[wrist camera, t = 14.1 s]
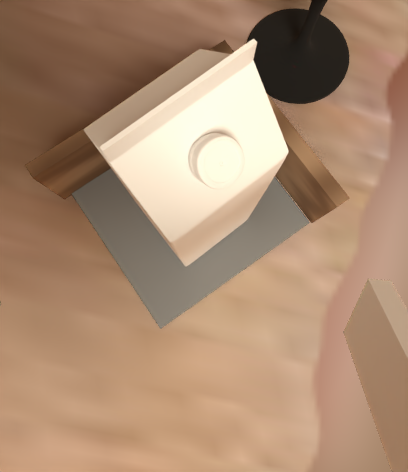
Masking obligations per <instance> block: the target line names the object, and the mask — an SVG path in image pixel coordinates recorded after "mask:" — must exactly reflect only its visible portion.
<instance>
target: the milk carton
mask: <svg viewBox="0 0 408 472" xmlns="http://www.w3.org/2000/svg"><path fill="white" fill-rule="evenodd" d="M256 45H257V41H256V40H255V39H252V40H251V41H249V42H248V43H247V44H245V45H244V46H242V47H241V48H239V49H238V50H237V51H235V52H234V53H232V54H227V53H221V52H215V51H210V50H204V49H199V50H197V51H196V52H194V53H193V54H191V55H190V56H188V57H187V58H185V59H184V60H182V61H181V62H179V63H178V64H177V65H175V66H174V67H172V68H171V69H169V70H168V71H166V72H165V73H164V74H162V75H161V76H159V77H158V78H156V79H155V80H153V81H152V82H151V83H149V84H148V85H146V86H145V87H143V88H142V89H140V90H139V91H138V92H136V93H135V94H133V95H132V96H130V97H129V98H127V99H126V100H125V101H123V102H122V103H120V104H119V105H117V106H116V107H114V108H113V109H112V110H110V111H109V112H107V113H106V114H104V115H103V116H101V117H100V118H99V119H97V120H96V121H94V122H93V123H91V124H90V125H89V126H87V127H86V128H85V129H84V131H85V133H86V134H87V136H88V137H89V138H90V140H91V141H92V142H93V144H94V145H95V147H96V148H97V149H98V151H99V152H100V153H101V155H102V156H103V158H104V159H105V160H106V162H107V163H108V164H109V166H110V167H111V169H112V170H113V171H114V173H115V174H116V175H117V177H118V178H119V180H120V181H121V182H122V184H123V185H124V186H125V188H126V189H127V191H128V192H129V193H130V195H131V196H132V197H133V199H134V200H135V202H136V203H137V204H138V206H139V207H140V208H141V210H142V211H143V212H144V214H145V215H146V216H147V217H148V219H149V220H150V221H151V223H152V224H153V225H154V227H155V228H156V229H157V230H158V232H159V233H160V234H161V236H162V237H163V238H164V240H165V241H166V242H167V243H168V245H169V246H170V247H171V249H172V250H173V251H174V253H175V254H176V255H177V256H178V258H179V259H180V260H181V262H182V263H183V264H184V266H186V267H187V266H188V265H190V264H191V263H192V262H194V261H195V260H196V259H198V258H199V257H200V256H202V255H203V254H204V253H205V252H207V251H208V250H209V249H211V248H212V247H213V246H214V245H216V244H217V243H218V242H220V241H221V240H222V239H224V238H225V237H226V236H227V235H229V234H230V233H231V232H233V231H234V230H235V229H236V228H238V227H239V226H240V225H242V224H243V223H244V222H245V221H246V220H247V219H248V218H249V216H250V215H251V213H252V212H253V210H254V208H255V207H256V205H257V204H258V202H259V200H260V199H261V197H262V196H263V194H264V192H265V191H266V189H267V188H268V186H269V184H270V183H271V181H272V180H273V178H274V176H275V175H276V173H277V172H278V170H279V168H280V167H281V165H282V164H283V162H284V160H285V159H286V156H287V154H288V152H289V151H288V148H287V145H286V143H285V140H284V137H283V135H282V132H281V130H280V127H279V125H278V122H277V119H276V117H275V114H274V112H273V109H272V107H271V104H270V101H269V99H268V96H267V94H266V91H265V89H264V86H263V84H262V81H261V78H260V76H259V73H258V71H257V68H256V66H255V63H254V60H253V59H254V54H255V50H256Z"/></svg>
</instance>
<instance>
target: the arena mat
mask: <svg viewBox="0 0 408 472" xmlns="http://www.w3.org/2000/svg"><path fill="white" fill-rule="evenodd" d="M72 195H73V197H74V198H75V200H76V201H77V203H78V204H79V206H80V208H81V209H82V211H83V212H84V214H85V215H86V217H87V218H88V220H89V221H90V223H91V224H92V226H93V227H94V229H95V230H96V232H97V233H98V235H99V236H100V238H101V239H102V241H103V242H104V244H105V245H106V247H107V248H108V250H109V251H110V253H111V254H112V256H113V257H114V259H115V261H116V262H117V264H118V265H119V267H120V268H121V270H122V271H123V273H124V274H125V276H126V277H127V279H128V280H129V282H130V283H131V285H132V286H133V288H134V289H135V291H136V292H137V294H138V295H139V297H140V298H141V300H142V301H143V303H144V304H145V306H146V307H147V309H148V311H149V312H150V314H151V315H152V317H153V318H154V320H155V321H156V323H157V324H158V326H159V327H160V329H161V328H162V327H164V326H165V325H167V324H168V323H169V322H171V321H172V320H174V319H175V318H176V317H178V316H179V315H181V314H182V313H183V312H185V311H186V310H188V309H189V308H190V307H192V306H193V305H195V304H196V303H197V302H199V301H200V300H202V299H203V298H205V297H206V296H207V295H209V294H210V293H212V292H213V291H214V290H216V289H217V288H219V287H220V286H221V285H223V284H224V283H226V282H227V281H228V280H230V279H231V278H233V277H234V276H235V275H237V274H238V273H240V272H241V271H242V270H244V269H245V268H247V267H248V266H249V265H251V264H252V263H254V262H255V261H256V260H258V259H259V258H261V257H262V256H264V255H265V254H266V253H268V252H269V251H271V250H272V249H273V248H275V247H276V246H278V245H279V244H280V243H282V242H283V241H285V240H286V239H287V238H289V237H290V236H292V235H293V234H294V233H296V232H297V231H299V230H300V229H301V228H303V227H304V226H306V225H307V224H308V223H309V221H308V220H307V219H306V217H305V216H304V215H303V213H302V212H301V211H300V209H299V208H298V207H297V206H296V204H295V203H294V202H293V200H292V199H291V198H290V196H289V195H288V194H287V192H286V191H285V190H284V189H283V187H282V186H281V185H280V183H279V182H278V181H277V179H276V178H275V177H274V178H273V180H272V181H271V183H270V184H269V186H268V188H267V189H266V191H265V192H264V194H263V196H262V197H261V199H260V200H259V202H258V204H257V205H256V207H255V208H254V210H253V212H252V213H251V215H250V216H249V218H248V219H247V220H246V221H245V222H244V223H243V224H242V225H240V226H239V227H238V228H236V229H235V230H234V231H233V232H231V233H230V234H229V235H227V236H226V237H225V238H224V239H222V240H221V241H220V242H218V243H217V244H216V245H214V246H213V247H212V248H211V249H209V250H208V251H207V252H205V253H204V254H203V255H202V256H200V257H199V258H198V259H196V260H195V261H194V262H192V263H191V264H190V265H188V266H187V267H186V266H184V264H183V263H182V262H181V260H180V259H179V258H178V256H177V255H176V254H175V253H174V251H173V250H172V249H171V247H170V246H169V245H168V243H167V242H166V241H165V240H164V238H163V237H162V236H161V234H160V233H159V232H158V230H157V229H156V228H155V227H154V225H153V224H152V223H151V221H150V220H149V219H148V217H147V216H146V215H145V214H144V212H143V211H142V210H141V208H140V207H139V206H138V204H137V203H136V202H135V200H134V199H133V197H132V196H131V195H130V193H129V192H128V191H127V189H126V188H125V186H124V185H123V184H122V182H121V181H120V180H119V178H118V177H117V175H116V174H115V173H114V171H113V170H112V169H111V168H110V169H109V170H107V171H106V172H104V173H103V174H101V175H100V176H98V177H96V178H95V179H93V180H92V181H90V182H89V183H87V184H86V185H84V186H82V187H81V188H79V189H78V190H76V191H75V192H73V193H72Z"/></svg>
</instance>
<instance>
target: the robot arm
mask: <svg viewBox="0 0 408 472" xmlns="http://www.w3.org/2000/svg"><path fill="white" fill-rule="evenodd" d="M0 305H1V302H0ZM344 335H345V338H346V341H347V344H348V347H349V350H350V353H351V355H352V358H353V361H354V364H355V367H356V370H357V373H358V376H359V379H360V381H361V385H362V387H363V390H364V393H365V396H366V399H367V402H368V405H369V408H370V411H371V413H372V416H373V419H374V422H375V425H376V428H377V431H378V434H379V437H380V439H381V443H382V445H383V448H384V451H385V454H386V457H387V460H388V463H389V466H390V469H391V471H392V472H408V310H407V308H406V306H405V304H404V303H403V301H402V299H401V297H400V296H399V294H398V292H397V291H396V289H395V287H394V285H393V283H392V282H391V281H390V280H378V279H368V280H367V282H366V284H365V286H364V288H363V291H362V293H361V295H360V297H359V299H358V301H357V304H356V306H355V308H354V310H353V312H352V315H351V317H350V319H349V321H348V323H347V325H346V328H345V330H344Z"/></svg>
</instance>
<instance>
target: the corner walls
mask: <svg viewBox="0 0 408 472" xmlns="http://www.w3.org/2000/svg"><path fill="white" fill-rule="evenodd" d="M210 51H215V52H221V53H227V54H232V53H234V51H233V50H232V49H231V47H230V46H229V45H228V44H227V42H226V41H225V40H224V41H223V42H221V43H219V44H218V45H216V46H215V47H213V48H211V49H210ZM266 94H267V93H266ZM267 96H268V99H269V101H270V104H271V107H272V109H273V112H274V114H275V117H276V119H277V122H278V125H279V127H280V130H281V132H282V135H283V137H284V140H285V143H286V145H287V148H288V151H289V152H288V154H287V156H286V159H285V160H284V162H283V164H282V165H281V167H280V168H279V170H278V172H277V173H276V175H275V176H276V177H277V178H278V180H279V181H280V182H281V184H282V185H283V186H284V187H285V189H286V190H287V191H288V193H289V194H290V195H291V197H292V198H293V199H294V201H295V202H296V203H297V205H298V206H299V207H300V208H301V210H302V211H303V212H304V214H305V215H306V216H307V218H308V219H309V220H310V222H311V223H313V222H314V221H316V220H317V219H319V218H321V217H322V216H324V215H325V214H327V213H329V212H330V211H332V210H333V209H335V208H336V207H338V206H339V205H341V204H342V203H344V202H345V201H346V200H348V199H349V196H348V195H347V194H346V193H345V191H344V190H343V189H342V188H341V186H340V185H339V184H338V183H337V181H336V180H335V179H334V178H333V176H332V175H331V174H330V172H329V171H328V170H327V169H326V167H325V166H324V165H323V164H322V162H321V161H320V160H319V159H318V157H317V156H316V155H315V154H314V152H313V151H312V150H311V148H310V147H309V146H308V145H307V143H306V142H305V141H304V140H303V138H302V137H301V136H300V135H299V133H298V132H297V131H296V130H295V128H294V127H293V126H292V124H291V123H290V122H289V121H288V119H287V118H286V117H285V116H284V114H283V113H282V112H281V111H280V109H279V108H278V107H277V106H276V104H275V103H274V102H273V100H272V99H271V98H270V97H269V95H268V94H267ZM88 126H89V125H88ZM85 128H86V127H85ZM85 128H84V129H85ZM84 129H82V130H80V131H79V132H77V133H76V134H74V135H72V136H71V137H69V138H68V139H66V140H64V141H63V142H61V143H60V144H58V145H56V146H55V147H53V148H52V149H50V150H48V151H47V152H45V153H44V154H42V155H40V156H39V157H37V158H36V159H34V160H32V161H31V162H29V163H28V164H26V165H25V166H26V168H27V170H28V171H29V173H30V174H31V176H32V177H33V178H34V179H35V180H37V181H38V182H40V183H41V184H43V185H44V186H46V187H47V188H49V189H50V190H52V191H53V192H54V193H56V194H57V195H59V196H60V197H62V198H63V199H66V198H67V197H69V196H70V195H72V193H73V192H75V191H76V190H78V189H79V188H81V187H82V186H84V185H86V184H87V183H89V182H90V181H92V180H93V179H95V178H96V177H98V176H100V175H101V174H103V173H104V172H106V171H107V170H109V169H110V168H111V167H110V166H109V164H108V163H107V162H106V160H105V159H104V158H103V156H102V155H101V153H100V152H99V151H98V149H97V148H96V147H95V145H94V144H93V142H92V141H91V140H90V138H89V137H88V136H87V134H86V133H85V131H84Z"/></svg>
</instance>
